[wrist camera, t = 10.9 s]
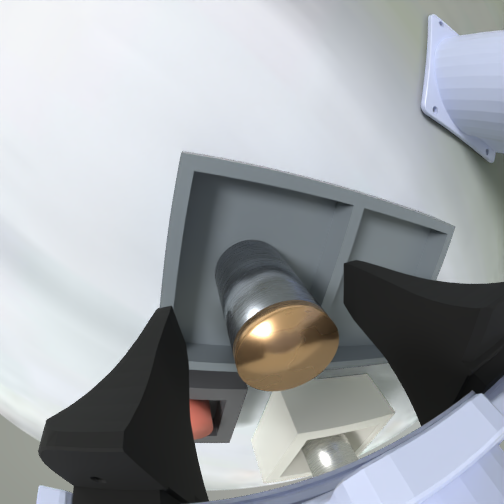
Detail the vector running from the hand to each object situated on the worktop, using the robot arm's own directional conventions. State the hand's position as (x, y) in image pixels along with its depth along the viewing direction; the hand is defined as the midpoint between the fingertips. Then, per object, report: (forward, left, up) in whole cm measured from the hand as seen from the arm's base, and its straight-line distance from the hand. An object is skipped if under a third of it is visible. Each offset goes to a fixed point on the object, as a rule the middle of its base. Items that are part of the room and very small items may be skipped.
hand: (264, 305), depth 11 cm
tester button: (+2, +9, -2) cm, 9 cm away
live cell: (0, 0, -3) cm, 3 cm away
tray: (-4, 0, -3) cm, 5 cm away
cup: (-8, +12, -3) cm, 15 cm away
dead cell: (-8, +12, -3) cm, 15 cm away
